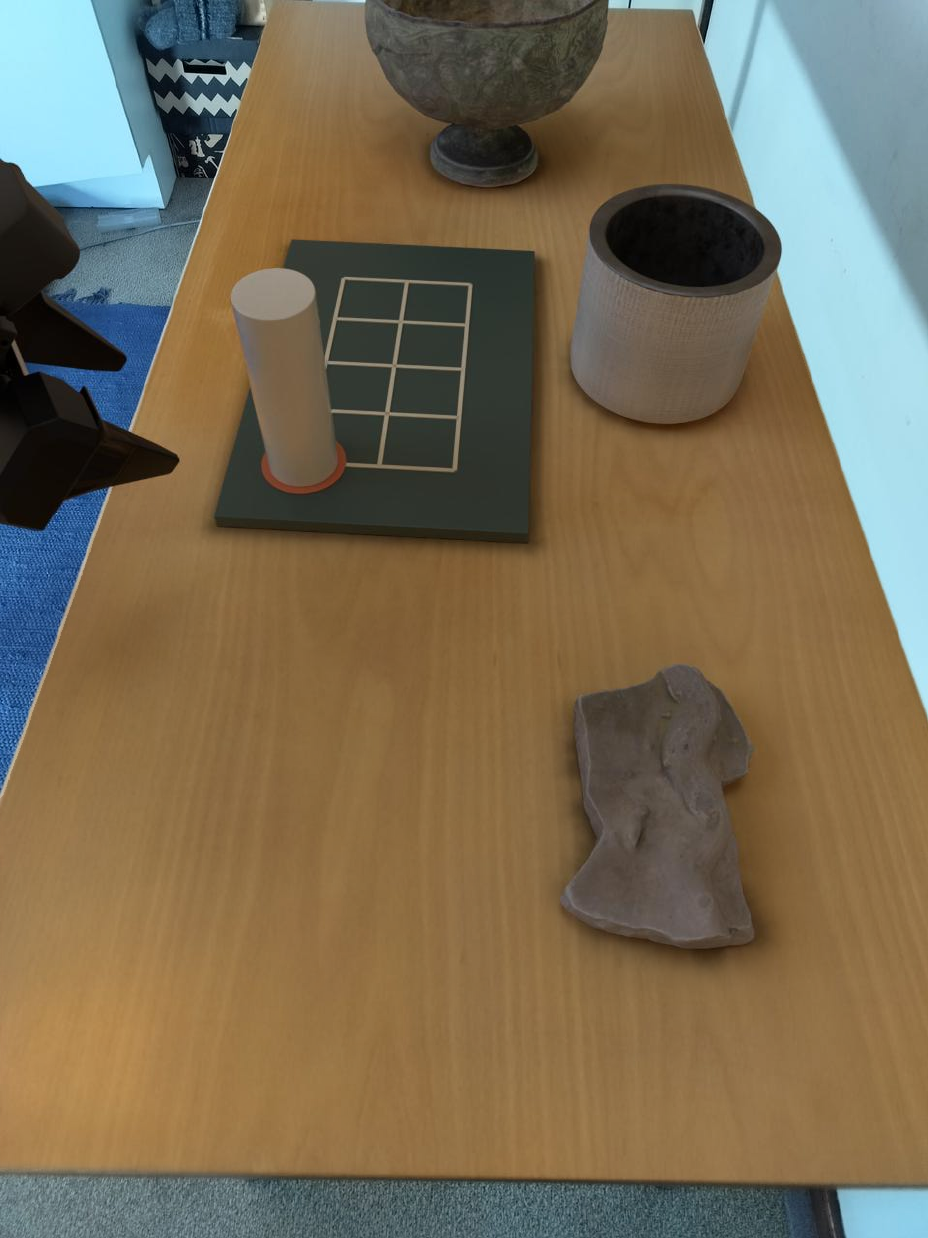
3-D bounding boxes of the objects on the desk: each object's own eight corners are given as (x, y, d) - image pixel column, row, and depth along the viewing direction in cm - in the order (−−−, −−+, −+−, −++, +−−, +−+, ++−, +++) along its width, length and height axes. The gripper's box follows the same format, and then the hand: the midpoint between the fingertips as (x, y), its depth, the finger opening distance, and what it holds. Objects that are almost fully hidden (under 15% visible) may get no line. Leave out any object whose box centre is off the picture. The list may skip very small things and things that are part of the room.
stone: (758, 971, 44) (783, 947, 40) (556, 945, 44) (565, 920, 41) (742, 703, 52) (762, 665, 49) (573, 684, 53) (581, 645, 49)
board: (216, 526, 59) (213, 514, 58) (292, 249, 76) (290, 237, 75) (527, 543, 58) (529, 531, 58) (534, 261, 75) (535, 248, 75)
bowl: (590, 108, 90) (613, -74, 77) (588, 221, 79) (614, 30, 66) (390, 96, 90) (381, -87, 78) (360, 206, 80) (345, 14, 67)
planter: (760, 425, 65) (812, 289, 56) (586, 438, 64) (610, 302, 55) (711, 313, 72) (750, 176, 63) (554, 323, 71) (571, 185, 62)
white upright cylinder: (305, 498, 59) (274, 331, 48) (253, 466, 60) (212, 296, 50) (352, 457, 61) (332, 288, 50) (301, 427, 62) (271, 257, 52)
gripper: (-49, 261, 31) (294, 403, 44) (-137, 35, 40) (167, 205, 53) (-169, 497, 36) (174, 566, 48) (-224, 245, 45) (76, 357, 57)
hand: (148, 411), depth 51 cm, fingers open, 9 cm apart
